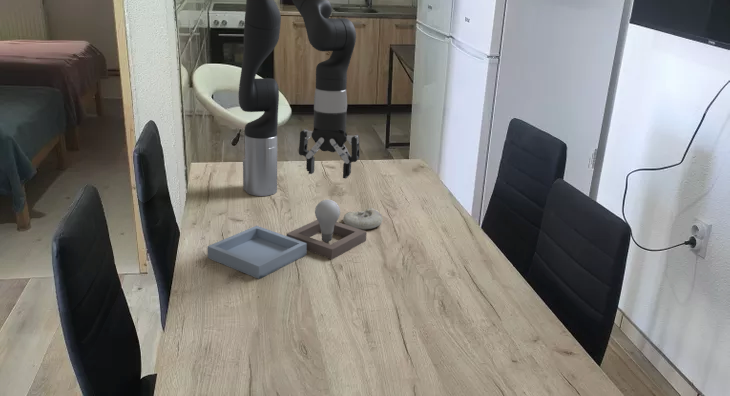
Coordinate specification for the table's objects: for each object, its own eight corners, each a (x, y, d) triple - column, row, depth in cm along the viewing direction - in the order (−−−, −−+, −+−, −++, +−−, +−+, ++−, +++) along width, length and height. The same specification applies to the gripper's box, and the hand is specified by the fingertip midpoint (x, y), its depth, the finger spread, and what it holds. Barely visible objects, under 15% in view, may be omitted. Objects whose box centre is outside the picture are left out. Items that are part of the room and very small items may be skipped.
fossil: (363, 200, 179) (392, 213, 174) (360, 212, 180) (389, 225, 175) (337, 210, 170) (367, 224, 165) (335, 223, 172) (365, 237, 167)
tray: (207, 258, 149) (207, 246, 148) (256, 236, 161) (256, 225, 160) (259, 279, 141) (259, 266, 140) (306, 254, 153) (306, 243, 152)
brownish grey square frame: (286, 243, 159) (286, 233, 158) (322, 226, 170) (322, 217, 169) (331, 259, 152) (332, 249, 151) (366, 240, 162) (366, 231, 162)
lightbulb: (335, 248, 157) (337, 206, 153) (311, 245, 158) (312, 203, 155) (341, 238, 163) (343, 197, 159) (318, 235, 164) (319, 194, 160)
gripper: (295, 108, 147) (294, 176, 153) (355, 114, 144) (352, 183, 149) (306, 102, 154) (305, 167, 160) (364, 108, 151) (361, 174, 156)
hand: (328, 175), depth 155 cm, fingers open, 8 cm apart
